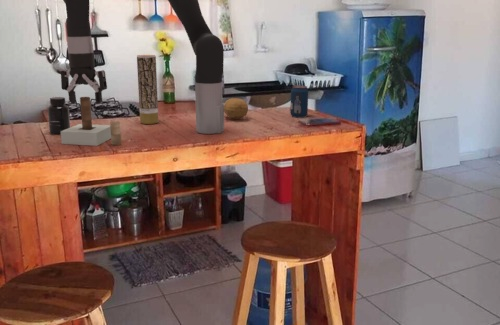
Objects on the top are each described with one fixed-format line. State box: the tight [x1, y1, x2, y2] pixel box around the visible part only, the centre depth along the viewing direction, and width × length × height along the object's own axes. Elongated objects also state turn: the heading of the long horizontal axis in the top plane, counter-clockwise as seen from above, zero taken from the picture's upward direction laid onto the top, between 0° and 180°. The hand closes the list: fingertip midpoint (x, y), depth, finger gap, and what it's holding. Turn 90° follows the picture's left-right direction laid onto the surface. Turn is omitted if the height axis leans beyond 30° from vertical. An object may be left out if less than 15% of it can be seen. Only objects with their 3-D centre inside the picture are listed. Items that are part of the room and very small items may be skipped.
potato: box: [223, 97, 249, 120], centre depth 206 cm, size 10×14×8 cm
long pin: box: [79, 96, 93, 130], centre depth 168 cm, size 3×3×14 cm
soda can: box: [289, 85, 309, 119], centre depth 211 cm, size 7×7×12 cm
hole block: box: [60, 123, 111, 147], centre depth 170 cm, size 12×12×4 cm
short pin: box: [109, 121, 122, 146], centre depth 165 cm, size 3×3×7 cm
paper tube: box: [136, 54, 159, 125], centre depth 195 cm, size 7×7×25 cm
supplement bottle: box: [47, 96, 71, 135], centre depth 180 cm, size 7×7×12 cm
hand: (85, 103), depth 167 cm, fingers open, 8 cm apart
